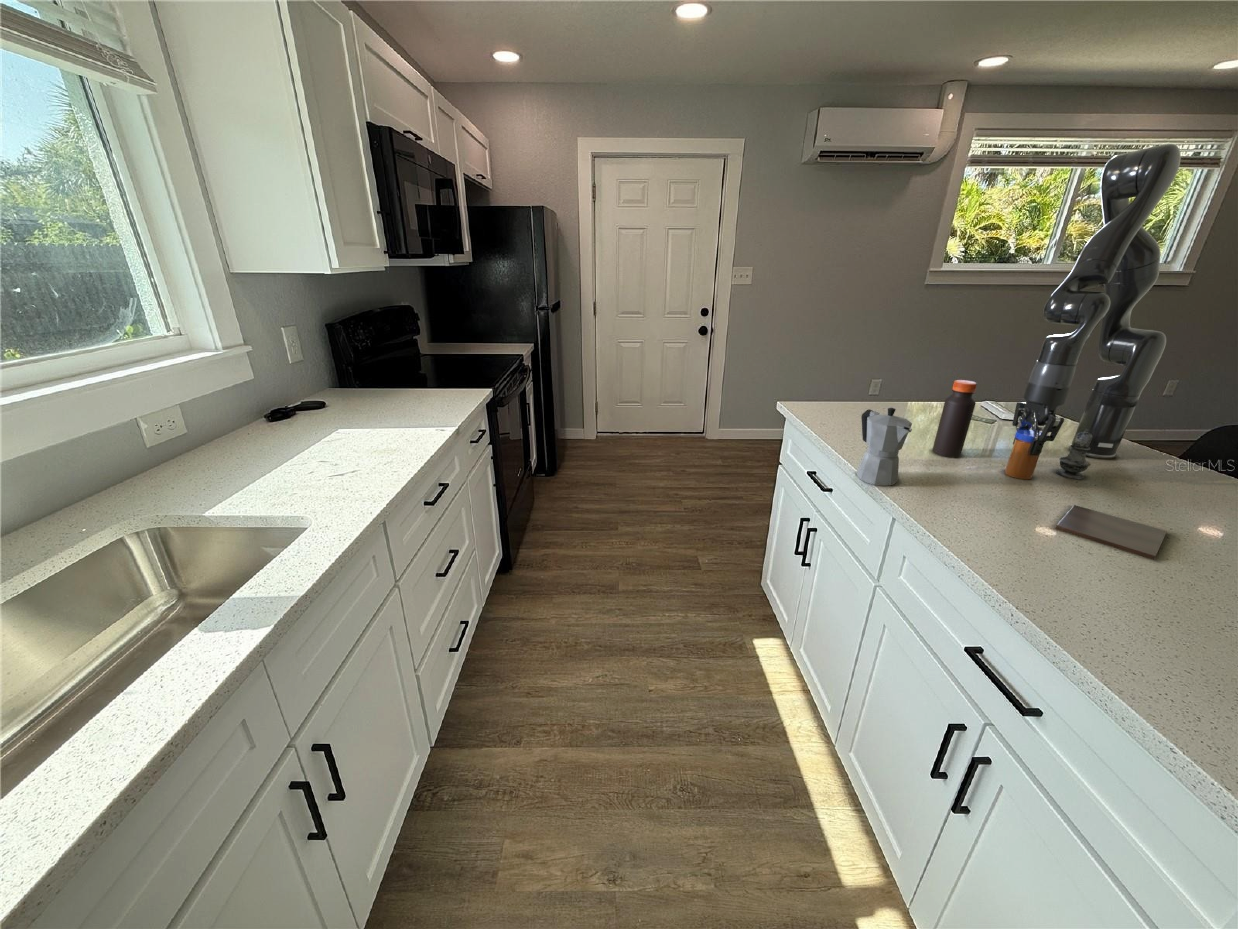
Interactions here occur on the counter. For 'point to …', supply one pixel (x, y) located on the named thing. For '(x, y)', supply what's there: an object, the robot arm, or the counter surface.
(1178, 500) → the counter surface
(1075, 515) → the board
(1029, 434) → the lid
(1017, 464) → the jar
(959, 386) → the bottle
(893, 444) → the coffeepot
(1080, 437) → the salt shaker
